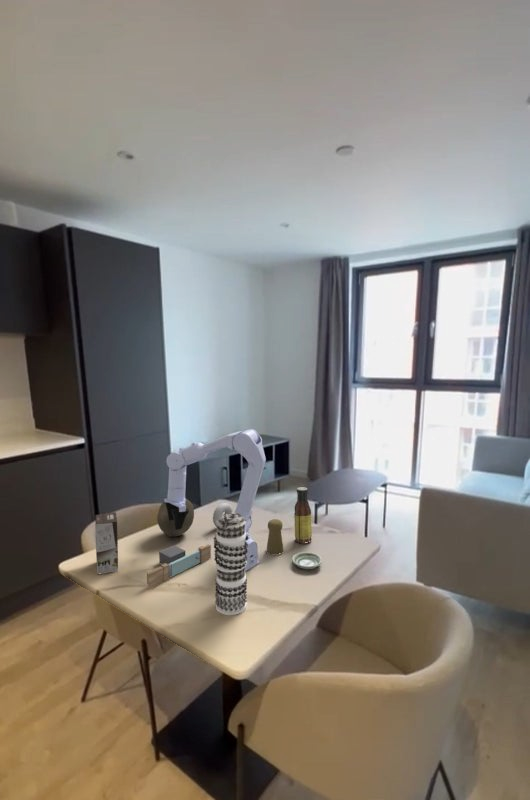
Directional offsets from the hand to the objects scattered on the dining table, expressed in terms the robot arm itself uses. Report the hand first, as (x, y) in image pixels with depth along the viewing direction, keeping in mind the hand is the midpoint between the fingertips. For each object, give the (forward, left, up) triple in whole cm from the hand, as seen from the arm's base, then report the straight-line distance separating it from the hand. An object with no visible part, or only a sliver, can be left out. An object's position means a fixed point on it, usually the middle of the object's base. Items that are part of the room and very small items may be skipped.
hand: (175, 524), depth 132 cm
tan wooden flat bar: (-11, +5, -11) cm, 16 cm away
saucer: (-39, -23, -11) cm, 46 cm away
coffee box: (+10, +19, -11) cm, 24 cm away
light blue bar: (-11, +5, -11) cm, 16 cm away
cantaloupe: (+11, -9, -11) cm, 18 cm away
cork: (-25, -24, -11) cm, 36 cm away
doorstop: (-4, +4, -11) cm, 12 cm away
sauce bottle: (-28, -37, -11) cm, 47 cm away
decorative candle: (-35, +8, -11) cm, 37 cm away
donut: (+3, -26, -11) cm, 28 cm away
